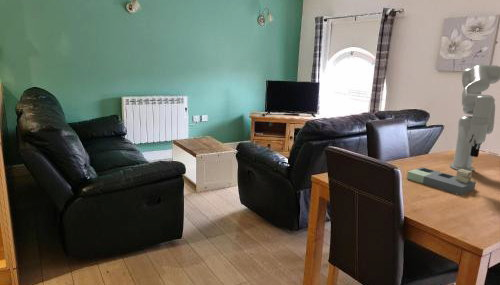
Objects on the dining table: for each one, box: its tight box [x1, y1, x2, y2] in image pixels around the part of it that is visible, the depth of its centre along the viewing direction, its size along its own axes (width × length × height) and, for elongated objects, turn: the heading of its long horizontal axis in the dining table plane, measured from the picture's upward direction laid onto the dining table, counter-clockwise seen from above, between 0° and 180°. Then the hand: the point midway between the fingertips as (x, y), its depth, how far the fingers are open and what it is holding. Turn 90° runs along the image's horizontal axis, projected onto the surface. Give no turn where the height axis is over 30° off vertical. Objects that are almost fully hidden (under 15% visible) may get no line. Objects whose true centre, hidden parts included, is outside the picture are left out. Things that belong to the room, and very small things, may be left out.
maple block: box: [455, 169, 473, 183], centre depth 182 cm, size 5×5×5 cm
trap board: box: [406, 166, 477, 196], centre depth 189 cm, size 15×28×4 cm, turn 37°
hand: (474, 156), depth 184 cm, fingers closed
